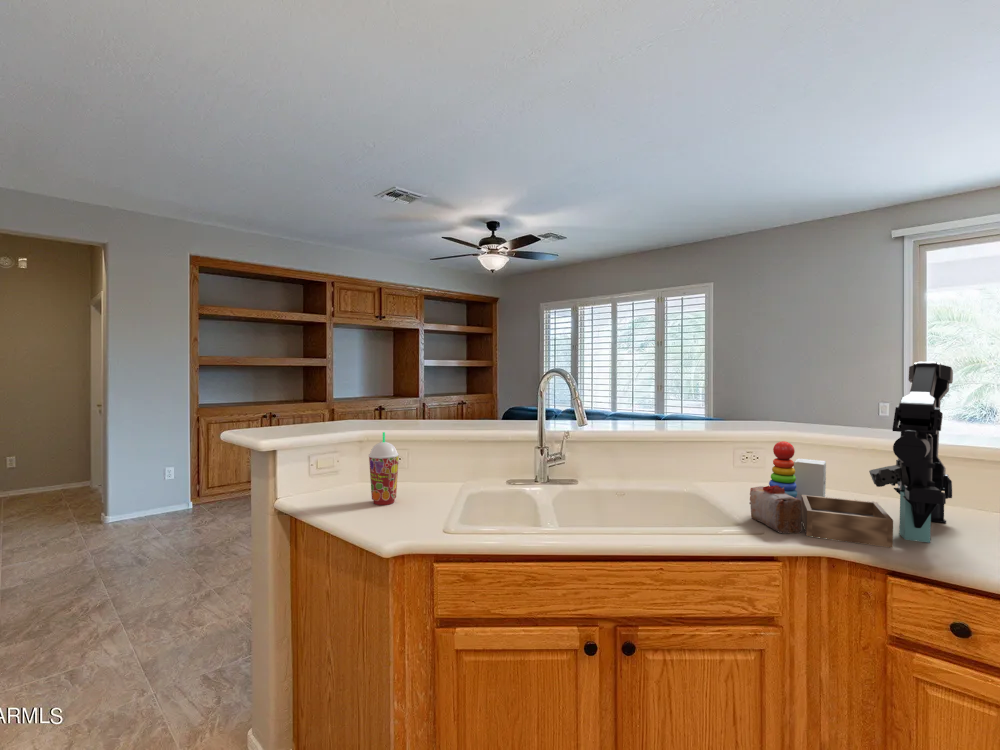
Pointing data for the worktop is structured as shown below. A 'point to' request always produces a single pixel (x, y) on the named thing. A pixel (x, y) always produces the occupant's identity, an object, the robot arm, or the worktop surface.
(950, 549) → the worktop surface
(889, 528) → the bore box
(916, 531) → the peg
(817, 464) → the supplement box
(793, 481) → the stacking toy
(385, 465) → the smoothie
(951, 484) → the robot arm
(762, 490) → the weathered brown brick
